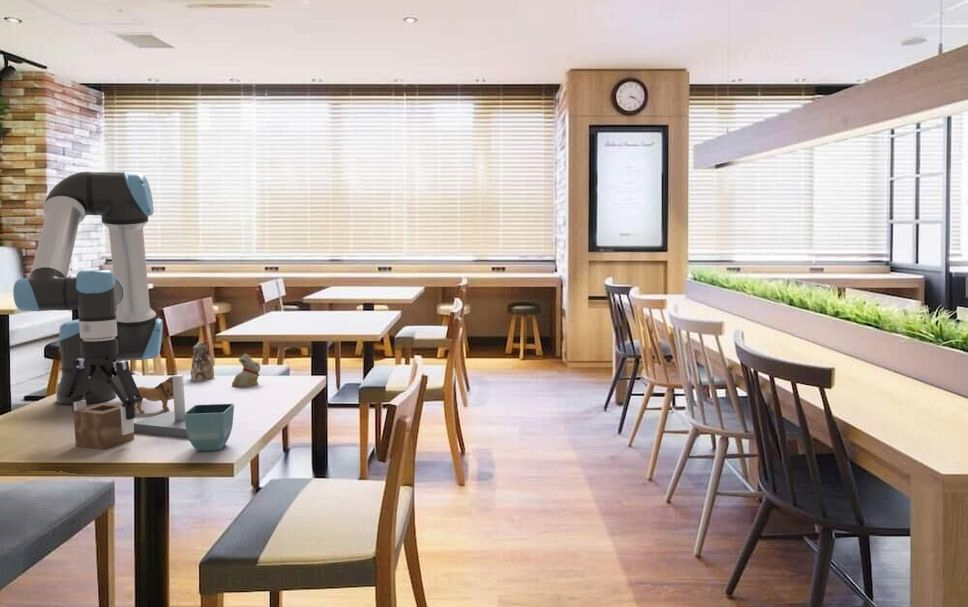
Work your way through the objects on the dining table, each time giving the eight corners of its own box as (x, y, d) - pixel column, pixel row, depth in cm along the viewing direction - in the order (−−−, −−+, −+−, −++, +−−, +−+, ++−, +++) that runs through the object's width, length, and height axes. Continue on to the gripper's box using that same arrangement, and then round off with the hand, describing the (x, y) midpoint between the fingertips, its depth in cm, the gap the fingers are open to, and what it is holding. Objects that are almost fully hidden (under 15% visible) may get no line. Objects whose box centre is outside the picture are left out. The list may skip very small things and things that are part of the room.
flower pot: (196, 442, 167) (194, 404, 167) (236, 441, 168) (234, 403, 167) (184, 454, 159) (182, 413, 158) (226, 453, 159) (224, 412, 159)
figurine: (185, 379, 237) (183, 342, 236) (202, 375, 244) (200, 339, 243) (202, 381, 235) (200, 344, 233) (218, 377, 241) (217, 340, 240)
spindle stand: (132, 431, 177) (129, 378, 176) (168, 419, 188) (166, 369, 187) (193, 438, 171) (190, 383, 170) (227, 424, 182) (225, 373, 181)
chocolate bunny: (256, 386, 226) (254, 354, 225) (230, 386, 226) (229, 354, 225) (261, 382, 232) (260, 351, 231) (237, 382, 232) (235, 351, 231)
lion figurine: (183, 406, 202) (181, 373, 201) (183, 410, 197) (181, 377, 196) (124, 411, 197) (122, 378, 196) (122, 416, 192) (120, 382, 191)
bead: (75, 445, 166) (73, 411, 165) (106, 435, 173) (103, 402, 173) (104, 449, 163) (102, 414, 162) (134, 438, 171) (132, 405, 170)
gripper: (42, 339, 166) (48, 431, 168) (129, 343, 158) (135, 439, 160) (70, 334, 173) (76, 422, 175) (155, 338, 165) (160, 431, 167)
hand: (104, 431), depth 168 cm, fingers open, 13 cm apart
